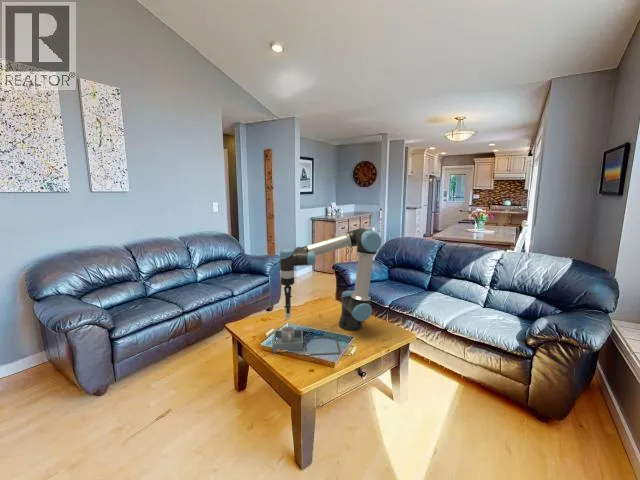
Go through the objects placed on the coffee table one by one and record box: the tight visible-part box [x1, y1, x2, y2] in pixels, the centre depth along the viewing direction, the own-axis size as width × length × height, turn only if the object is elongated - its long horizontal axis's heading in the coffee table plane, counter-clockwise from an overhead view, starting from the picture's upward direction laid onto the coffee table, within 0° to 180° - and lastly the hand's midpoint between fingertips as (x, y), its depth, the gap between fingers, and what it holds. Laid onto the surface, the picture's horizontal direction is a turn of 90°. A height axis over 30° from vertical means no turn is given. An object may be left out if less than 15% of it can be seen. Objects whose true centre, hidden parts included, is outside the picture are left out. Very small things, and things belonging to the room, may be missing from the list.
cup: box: [280, 325, 296, 343], centre depth 177 cm, size 11×8×8 cm
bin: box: [272, 328, 304, 354], centre depth 177 cm, size 17×17×5 cm
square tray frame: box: [303, 336, 342, 356], centre depth 176 cm, size 21×21×2 cm
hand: (288, 313), depth 175 cm, fingers open, 13 cm apart
